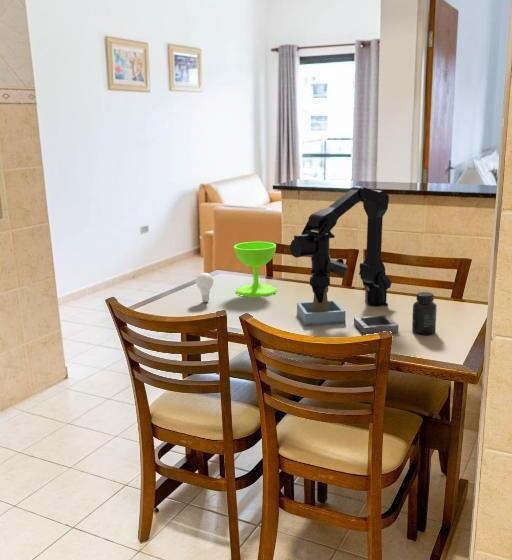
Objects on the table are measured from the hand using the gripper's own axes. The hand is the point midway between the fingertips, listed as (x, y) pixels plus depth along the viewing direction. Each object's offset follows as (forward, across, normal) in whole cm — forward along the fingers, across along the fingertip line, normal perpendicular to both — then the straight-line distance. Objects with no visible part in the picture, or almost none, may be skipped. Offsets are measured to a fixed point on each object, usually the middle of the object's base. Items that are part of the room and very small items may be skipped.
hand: (320, 300), depth 199 cm
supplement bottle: (+6, -12, -31) cm, 34 cm away
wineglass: (+6, +32, +25) cm, 42 cm away
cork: (+6, 0, 0) cm, 6 cm away
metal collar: (+6, -10, -17) cm, 21 cm away
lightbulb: (+6, +18, +42) cm, 46 cm away
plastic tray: (+6, 0, 0) cm, 6 cm away
